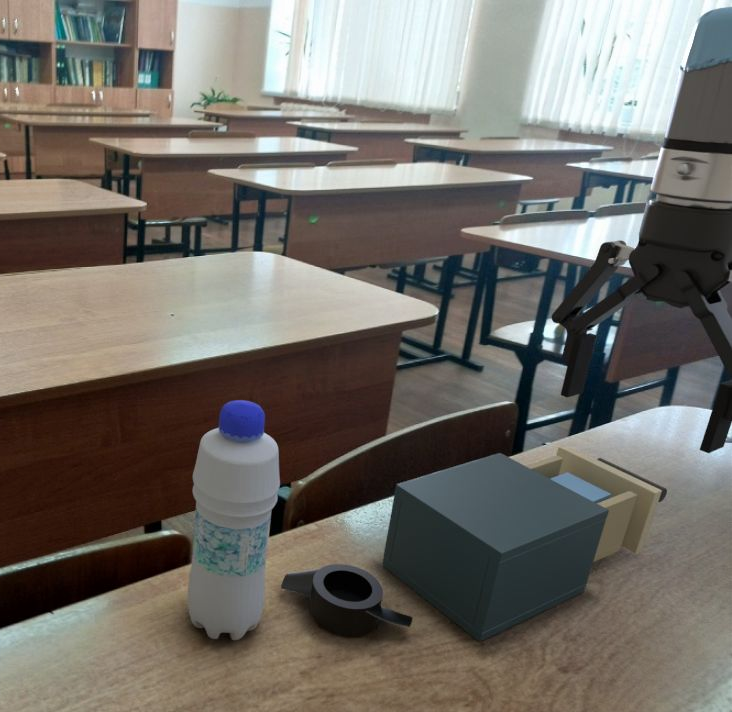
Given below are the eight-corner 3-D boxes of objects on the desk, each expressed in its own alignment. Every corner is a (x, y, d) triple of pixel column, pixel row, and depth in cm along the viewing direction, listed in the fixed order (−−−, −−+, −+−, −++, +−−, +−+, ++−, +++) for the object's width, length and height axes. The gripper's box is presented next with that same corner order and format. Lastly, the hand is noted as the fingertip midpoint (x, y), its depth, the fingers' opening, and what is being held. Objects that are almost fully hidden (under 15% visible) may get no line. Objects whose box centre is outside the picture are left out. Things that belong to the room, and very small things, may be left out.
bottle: (278, 639, 59) (305, 417, 52) (202, 658, 57) (220, 429, 50) (241, 587, 65) (262, 381, 58) (171, 603, 63) (183, 390, 55)
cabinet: (482, 527, 76) (500, 452, 73) (584, 592, 67) (609, 509, 64) (381, 565, 69) (396, 484, 66) (479, 642, 60) (501, 553, 57)
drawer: (578, 490, 82) (593, 435, 80) (670, 538, 74) (690, 478, 72) (468, 530, 74) (482, 470, 71) (559, 589, 66) (578, 524, 63)
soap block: (556, 510, 76) (567, 471, 74) (599, 534, 72) (611, 493, 71) (529, 521, 74) (539, 482, 72) (571, 546, 70) (583, 505, 68)
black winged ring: (349, 668, 57) (354, 638, 56) (272, 592, 65) (275, 565, 64) (419, 635, 60) (425, 607, 59) (338, 567, 68) (342, 541, 67)
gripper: (543, 183, 72) (502, 381, 80) (856, 230, 52) (763, 487, 60) (587, 181, 76) (544, 370, 84) (897, 223, 56) (804, 466, 64)
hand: (636, 419), depth 72 cm, fingers open, 13 cm apart
